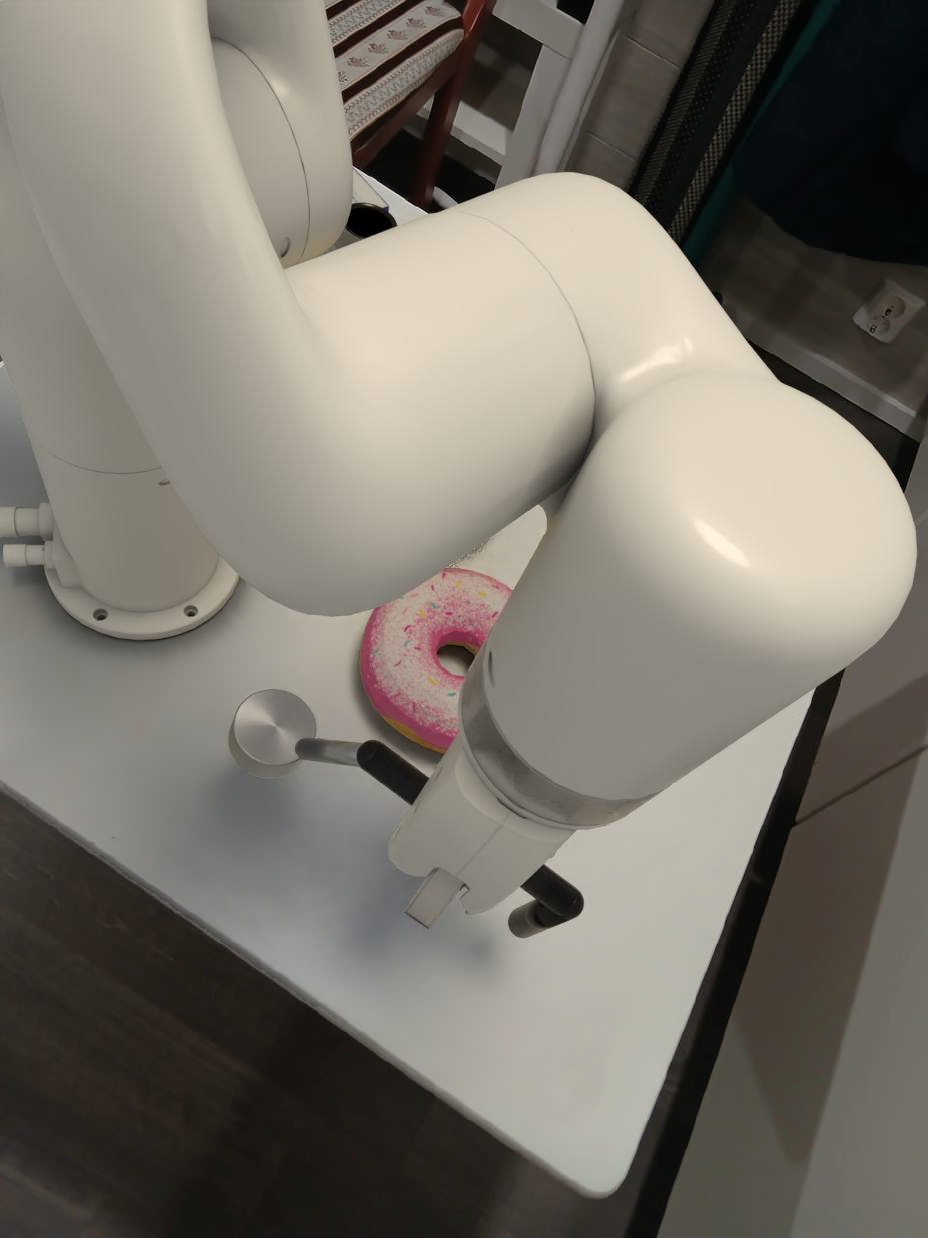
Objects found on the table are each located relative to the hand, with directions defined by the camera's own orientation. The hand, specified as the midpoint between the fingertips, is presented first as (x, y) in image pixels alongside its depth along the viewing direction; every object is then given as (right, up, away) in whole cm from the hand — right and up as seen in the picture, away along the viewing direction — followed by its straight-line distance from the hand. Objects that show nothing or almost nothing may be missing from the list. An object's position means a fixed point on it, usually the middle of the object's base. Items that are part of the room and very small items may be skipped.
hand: (453, 841), depth 42 cm
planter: (-9, +37, +29) cm, 49 cm away
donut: (-1, +8, +15) cm, 17 cm away
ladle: (-4, 0, +2) cm, 5 cm away
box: (-12, +44, +32) cm, 55 cm away
